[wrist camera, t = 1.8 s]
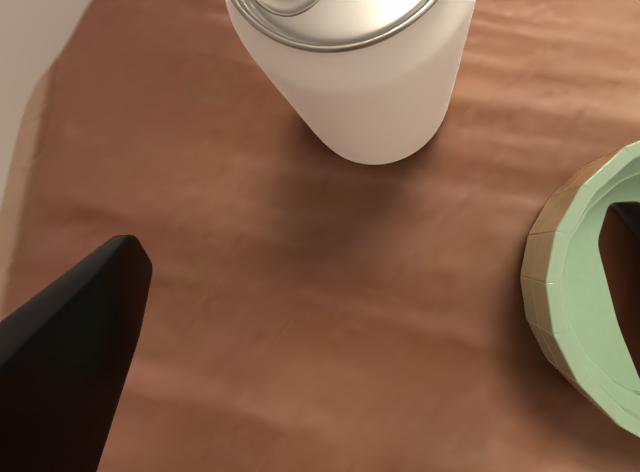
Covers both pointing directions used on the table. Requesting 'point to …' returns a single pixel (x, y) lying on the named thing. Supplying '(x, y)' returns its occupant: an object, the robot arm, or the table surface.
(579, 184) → the bowl
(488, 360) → the table surface
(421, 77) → the can
